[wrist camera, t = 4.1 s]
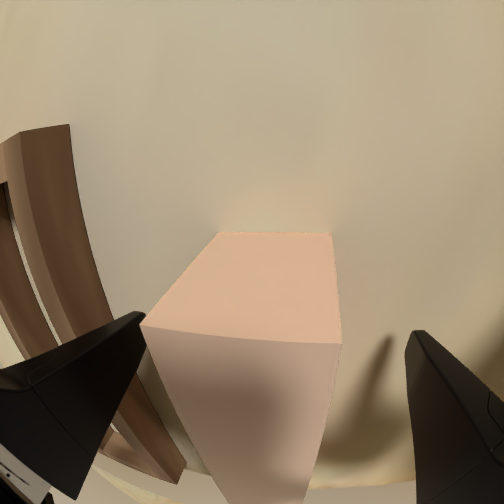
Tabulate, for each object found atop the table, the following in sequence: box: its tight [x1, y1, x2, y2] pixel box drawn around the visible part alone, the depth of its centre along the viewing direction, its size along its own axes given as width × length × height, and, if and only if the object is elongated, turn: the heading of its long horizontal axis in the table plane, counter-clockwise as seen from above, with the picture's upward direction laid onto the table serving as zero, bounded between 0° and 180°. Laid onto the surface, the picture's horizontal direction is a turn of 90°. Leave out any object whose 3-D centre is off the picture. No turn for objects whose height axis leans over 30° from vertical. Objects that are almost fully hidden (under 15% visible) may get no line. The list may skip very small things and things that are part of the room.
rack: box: [0, 124, 186, 484], centre depth 13 cm, size 8×25×2 cm, turn 3°
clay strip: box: [139, 232, 342, 504], centre depth 10 cm, size 4×18×5 cm, turn 4°
